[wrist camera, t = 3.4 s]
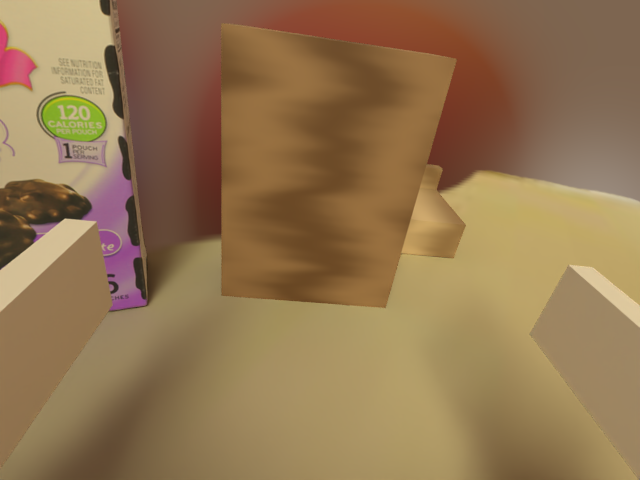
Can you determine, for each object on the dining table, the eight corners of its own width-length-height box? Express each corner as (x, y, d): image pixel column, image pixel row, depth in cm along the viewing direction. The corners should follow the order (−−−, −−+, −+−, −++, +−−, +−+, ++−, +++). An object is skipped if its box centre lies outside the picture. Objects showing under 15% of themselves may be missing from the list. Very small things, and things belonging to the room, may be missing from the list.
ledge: (278, 242, 28) (283, 180, 25) (283, 199, 35) (287, 147, 32) (453, 257, 29) (474, 201, 27) (424, 214, 36) (438, 165, 34)
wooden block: (221, 295, 22) (221, 23, 15) (231, 261, 25) (235, 24, 18) (385, 307, 23) (456, 58, 16) (374, 273, 26) (430, 54, 19)
